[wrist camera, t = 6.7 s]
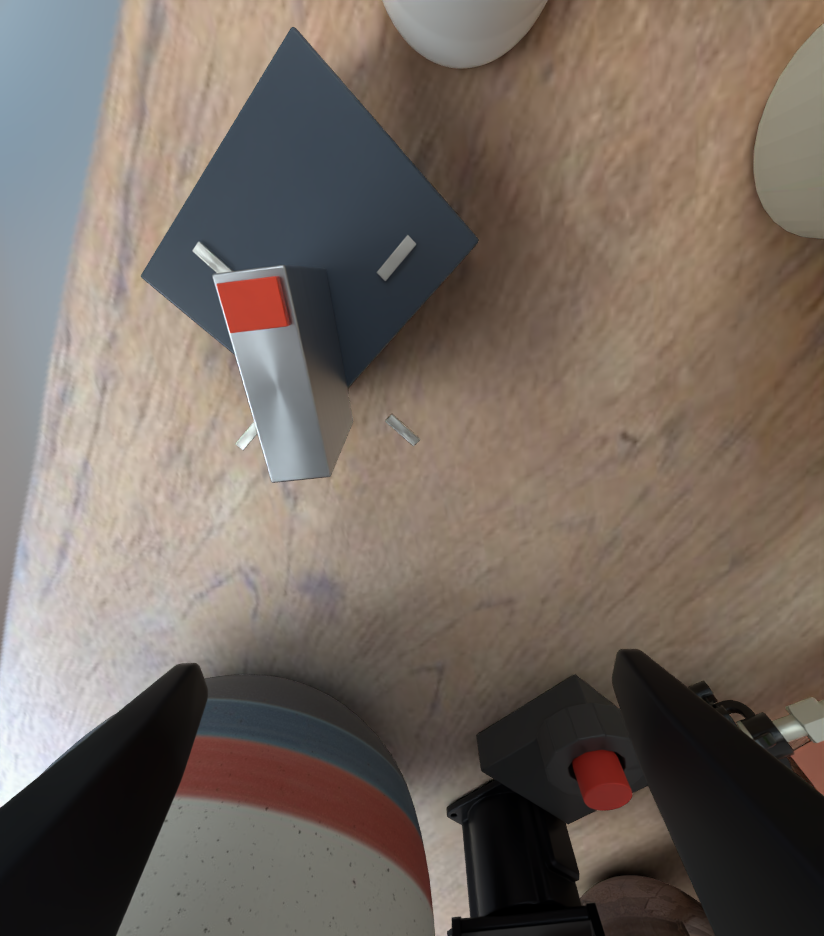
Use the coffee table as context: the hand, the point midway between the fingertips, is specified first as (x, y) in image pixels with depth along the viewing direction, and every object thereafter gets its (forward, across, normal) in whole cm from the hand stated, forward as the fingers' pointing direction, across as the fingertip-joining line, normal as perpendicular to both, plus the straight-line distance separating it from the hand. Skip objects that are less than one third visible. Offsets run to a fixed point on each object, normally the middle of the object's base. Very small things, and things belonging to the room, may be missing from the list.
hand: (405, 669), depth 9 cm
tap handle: (+8, +3, -6) cm, 10 cm away
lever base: (+11, +3, -7) cm, 13 cm away
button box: (+11, -9, +20) cm, 25 cm away
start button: (+8, -9, +16) cm, 20 cm away
